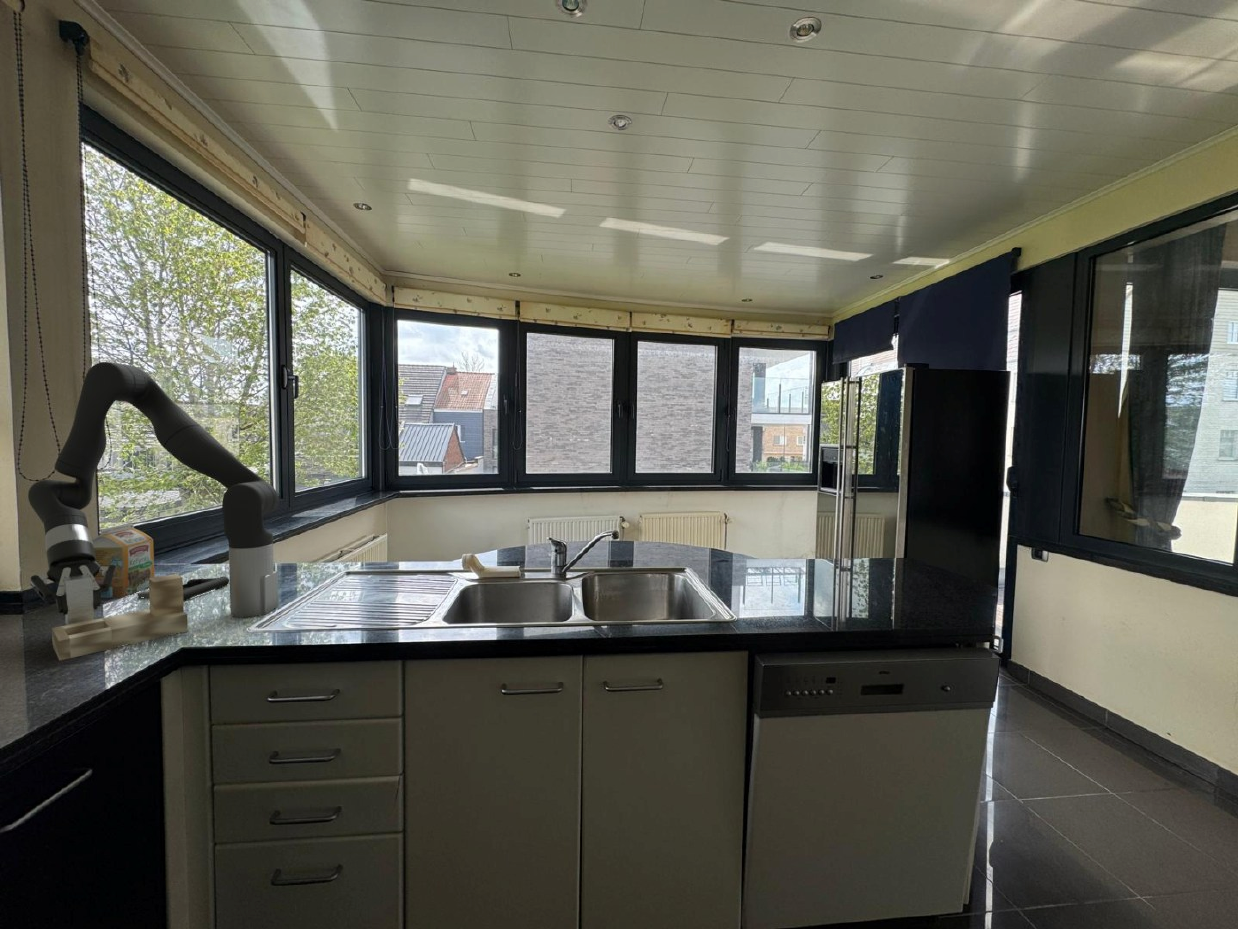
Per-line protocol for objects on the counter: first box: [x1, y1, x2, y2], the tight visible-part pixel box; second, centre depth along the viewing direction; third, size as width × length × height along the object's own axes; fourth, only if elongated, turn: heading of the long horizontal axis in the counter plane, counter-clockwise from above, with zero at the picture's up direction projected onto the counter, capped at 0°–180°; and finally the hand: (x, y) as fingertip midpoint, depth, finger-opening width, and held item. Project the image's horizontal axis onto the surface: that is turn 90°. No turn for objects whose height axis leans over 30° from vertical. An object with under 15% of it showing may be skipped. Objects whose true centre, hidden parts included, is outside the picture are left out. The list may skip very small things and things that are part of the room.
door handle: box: [137, 576, 230, 602], centre depth 144 cm, size 3×20×16 cm
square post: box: [63, 574, 95, 625], centre depth 114 cm, size 4×4×12 cm
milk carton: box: [92, 523, 156, 599], centre depth 145 cm, size 11×11×19 cm
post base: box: [51, 573, 189, 661], centre depth 113 cm, size 20×11×12 cm, turn 143°
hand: (80, 609), depth 113 cm, fingers closed on square post, 4 cm apart
